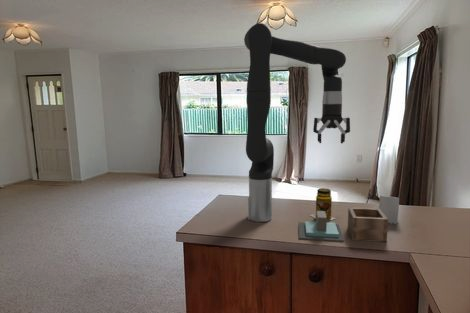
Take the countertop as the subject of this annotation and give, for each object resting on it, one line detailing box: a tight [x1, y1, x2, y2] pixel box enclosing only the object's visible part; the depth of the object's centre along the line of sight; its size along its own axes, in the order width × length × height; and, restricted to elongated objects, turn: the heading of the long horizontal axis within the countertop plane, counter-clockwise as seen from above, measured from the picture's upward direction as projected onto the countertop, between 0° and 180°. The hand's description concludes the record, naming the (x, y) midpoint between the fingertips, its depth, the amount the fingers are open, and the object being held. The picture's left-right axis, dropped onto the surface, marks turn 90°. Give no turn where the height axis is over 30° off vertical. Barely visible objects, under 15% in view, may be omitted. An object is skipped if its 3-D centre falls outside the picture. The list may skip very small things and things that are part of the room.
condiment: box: [309, 187, 337, 222], centre depth 133 cm, size 7×8×12 cm
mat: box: [298, 221, 345, 243], centre depth 119 cm, size 15×15×1 cm
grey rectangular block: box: [378, 195, 400, 225], centre depth 128 cm, size 4×7×10 cm, turn 59°
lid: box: [304, 211, 339, 237], centre depth 119 cm, size 11×11×6 cm
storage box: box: [347, 207, 389, 243], centre depth 115 cm, size 11×11×8 cm
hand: (331, 143), depth 133 cm, fingers open, 8 cm apart
